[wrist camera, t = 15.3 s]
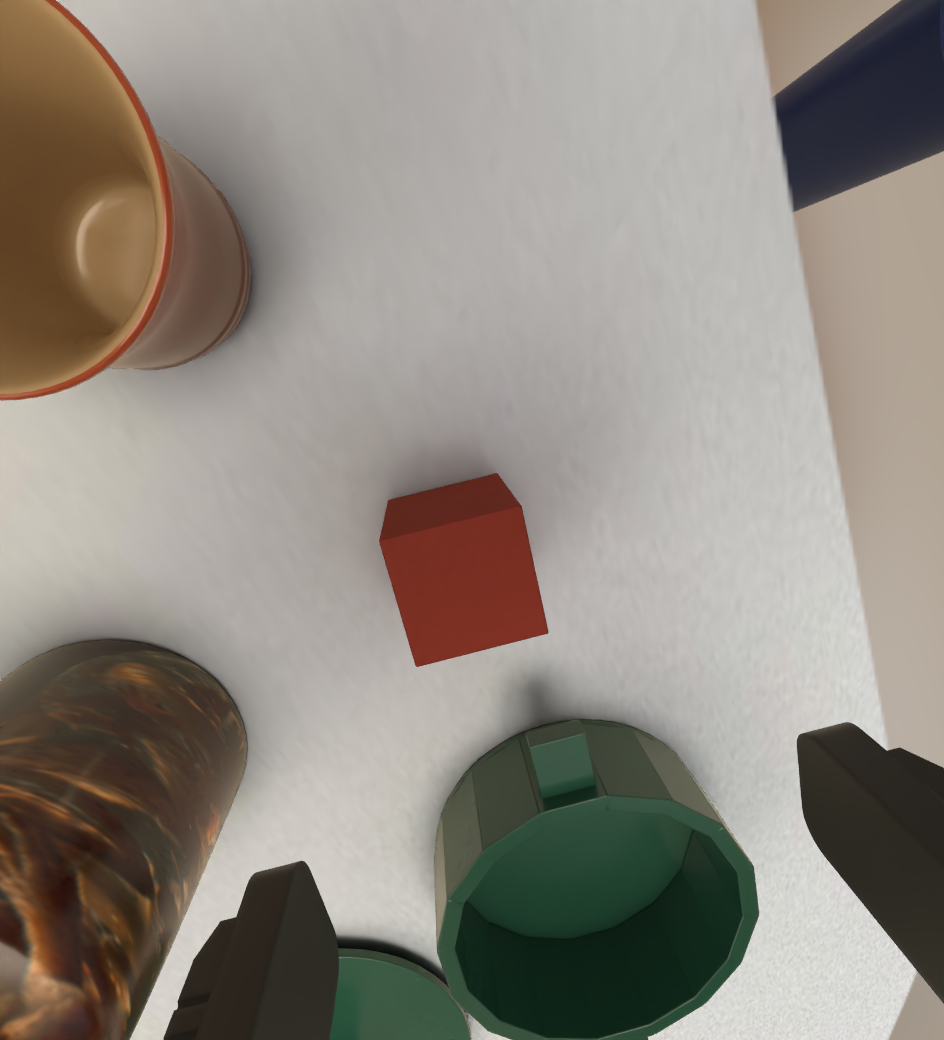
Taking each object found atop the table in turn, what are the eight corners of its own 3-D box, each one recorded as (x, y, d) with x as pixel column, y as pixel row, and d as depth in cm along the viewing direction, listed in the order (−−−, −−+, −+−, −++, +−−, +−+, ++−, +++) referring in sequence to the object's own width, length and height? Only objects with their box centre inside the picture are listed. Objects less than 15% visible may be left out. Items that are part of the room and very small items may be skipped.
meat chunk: (497, 473, 25) (521, 505, 19) (520, 575, 27) (548, 634, 21) (387, 500, 25) (378, 540, 19) (416, 601, 26) (415, 667, 21)
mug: (283, 159, 21) (166, -19, 11) (276, 396, 23) (174, 420, 14) (-71, 103, 20) (-553, -154, 10) (-42, 362, 22) (-414, 360, 12)
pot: (676, 642, 28) (735, 705, 23) (719, 936, 34) (774, 1041, 29) (391, 715, 28) (384, 797, 23) (481, 1001, 33) (492, 1119, 28)
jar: (40, 591, 25) (-488, 910, 10) (288, 701, 27) (143, 1082, 13) (-54, 795, 27) (-601, 1296, 12) (184, 880, 29) (-41, 1379, 15)
